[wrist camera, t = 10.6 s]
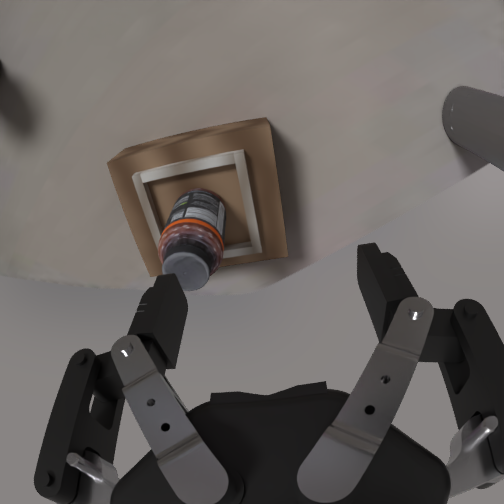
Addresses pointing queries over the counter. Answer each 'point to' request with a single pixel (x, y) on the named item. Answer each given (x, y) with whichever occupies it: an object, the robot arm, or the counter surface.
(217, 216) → the supplement bottle
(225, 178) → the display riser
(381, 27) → the counter surface
